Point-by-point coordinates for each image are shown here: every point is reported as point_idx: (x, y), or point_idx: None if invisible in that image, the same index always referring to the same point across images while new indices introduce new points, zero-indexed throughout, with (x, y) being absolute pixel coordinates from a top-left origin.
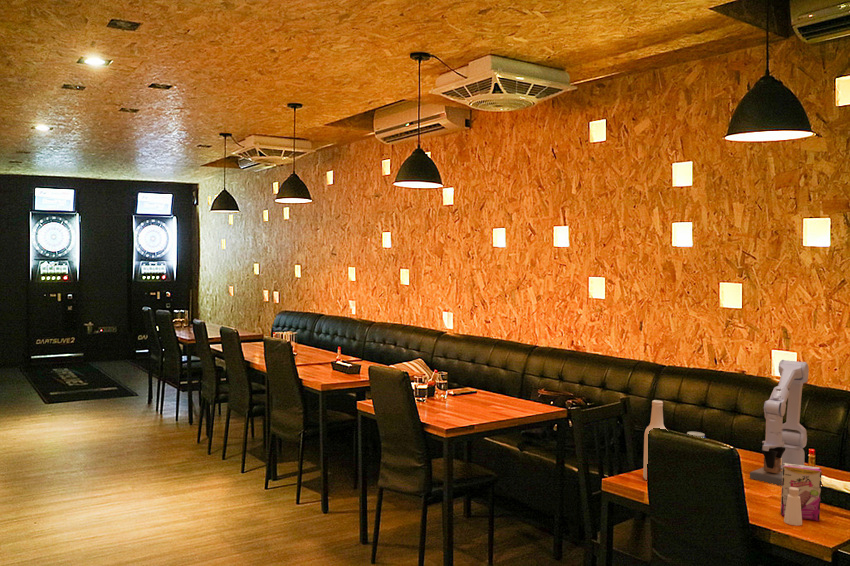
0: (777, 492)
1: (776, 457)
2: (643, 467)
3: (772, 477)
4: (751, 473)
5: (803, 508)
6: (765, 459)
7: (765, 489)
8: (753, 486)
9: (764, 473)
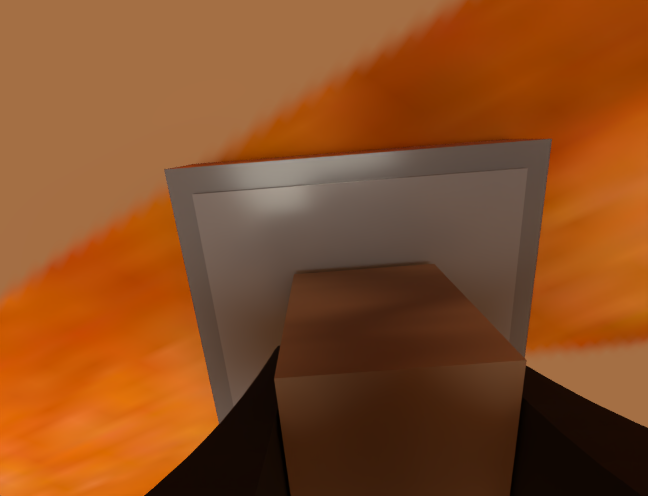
0: (68, 462)
1: (507, 480)
2: None
3: (213, 391)
4: (175, 187)
5: None
6: (223, 422)
7: (42, 394)
8: (10, 311)
9: (242, 305)
